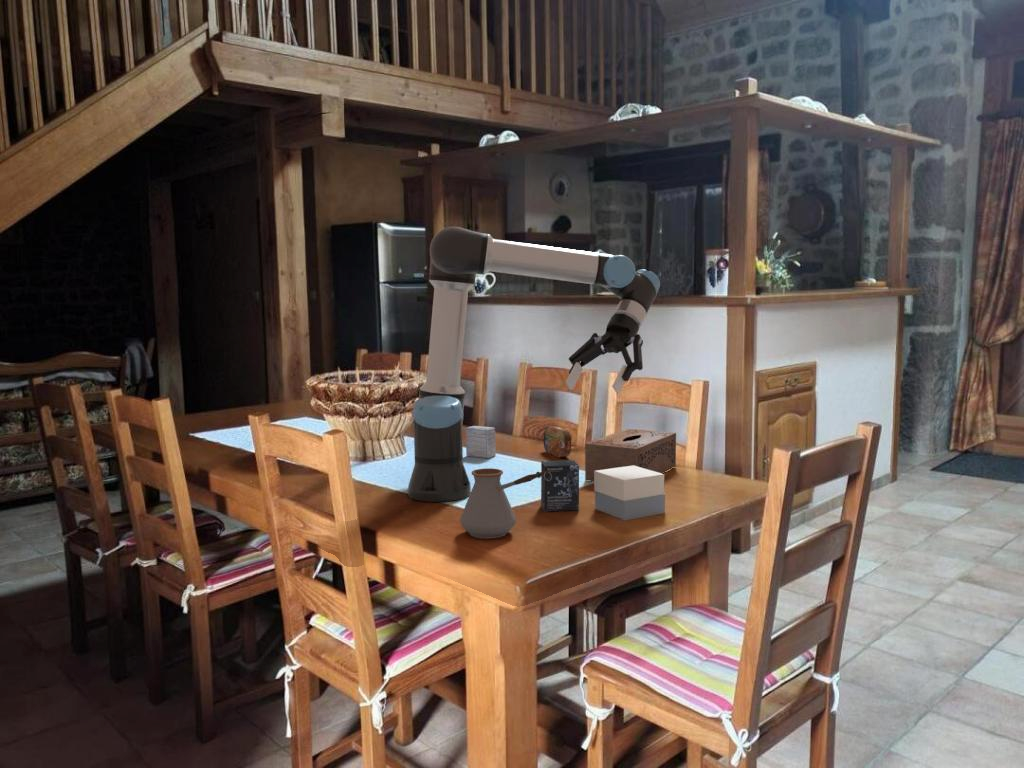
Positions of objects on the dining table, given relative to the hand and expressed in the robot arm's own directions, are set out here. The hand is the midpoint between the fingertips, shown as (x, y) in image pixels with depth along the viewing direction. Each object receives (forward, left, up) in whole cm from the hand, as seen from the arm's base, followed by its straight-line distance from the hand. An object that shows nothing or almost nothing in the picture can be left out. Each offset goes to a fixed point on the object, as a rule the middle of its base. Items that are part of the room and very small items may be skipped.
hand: (591, 388), depth 200 cm
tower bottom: (-2, -17, -26) cm, 31 cm away
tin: (+18, +44, -26) cm, 54 cm away
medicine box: (-2, +55, -26) cm, 61 cm away
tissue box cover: (+21, +12, -26) cm, 36 cm away
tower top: (-2, -17, -22) cm, 27 cm away
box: (-14, -7, -26) cm, 30 cm away
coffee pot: (-35, -20, -26) cm, 48 cm away
